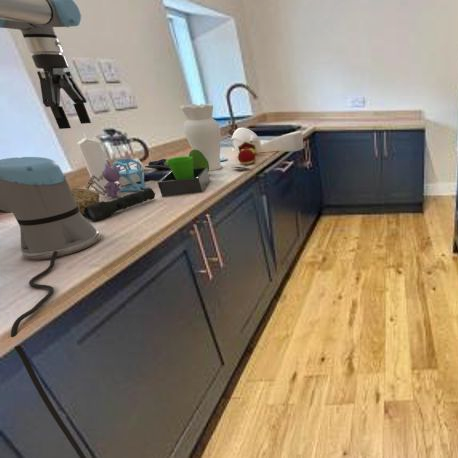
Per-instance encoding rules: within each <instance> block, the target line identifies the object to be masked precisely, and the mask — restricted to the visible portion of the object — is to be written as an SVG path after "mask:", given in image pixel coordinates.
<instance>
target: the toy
mask: <svg viewBox="0 0 458 458" xmlns="http://www.w3.org/2000/svg"><path fill="white" fill-rule="evenodd" d="M224 161H228V159H227V158H225V157H220V162H224Z"/></svg>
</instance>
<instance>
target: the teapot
mask: <svg viewBox="0 0 458 458" xmlns="http://www.w3.org/2000/svg"><path fill="white" fill-rule="evenodd" d="M260 140H261V139H260V138H259V136H258V134H256V133H255V132H254V131H253V130H252V129H249V128H246V127H238V128H236V130H234V132H233V134H232V136H231V138H230V144H231V146H232V149H231V151H232V152H234V153H235V152H236V153H238V152H239V150H238V147H237V146H239V145H240V144H241V143H243V142H244V141H248V142H250V143H253V144H255V146H256V150H257V154H259V153H260V152H259V151H260V150H261V143H260ZM258 152H259V153H258Z"/></svg>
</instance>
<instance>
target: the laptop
mask: <svg viewBox="0 0 458 458" xmlns="http://www.w3.org/2000/svg"><path fill="white" fill-rule="evenodd" d="M230 169H235V170H250V169H251V167H248V166H247V167H246V166H241V165H236V166H234V165H231V166H230Z"/></svg>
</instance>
